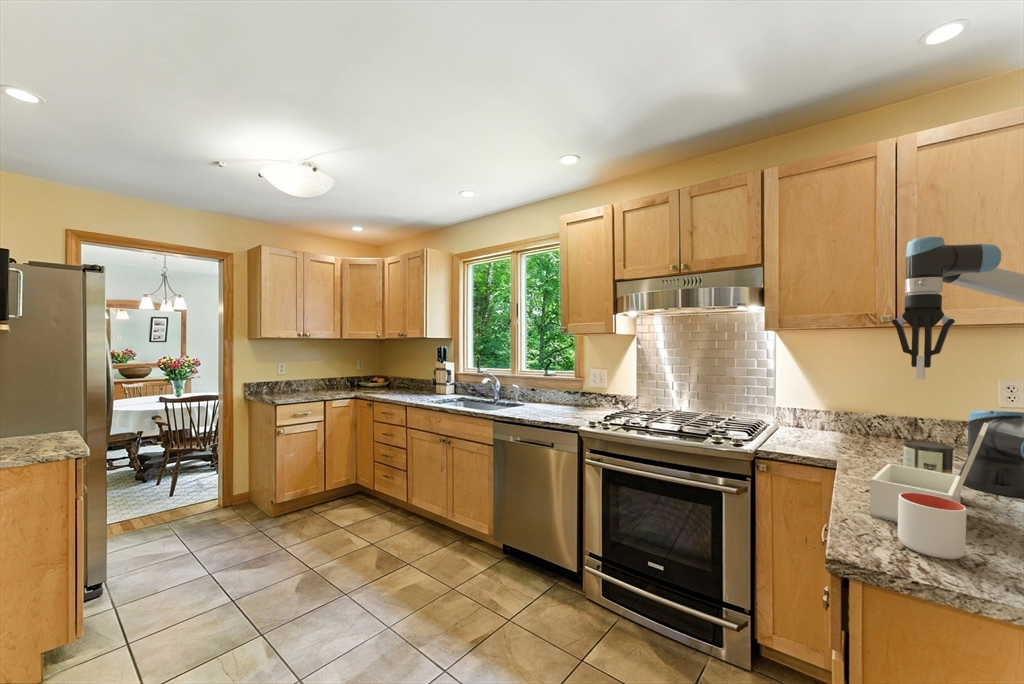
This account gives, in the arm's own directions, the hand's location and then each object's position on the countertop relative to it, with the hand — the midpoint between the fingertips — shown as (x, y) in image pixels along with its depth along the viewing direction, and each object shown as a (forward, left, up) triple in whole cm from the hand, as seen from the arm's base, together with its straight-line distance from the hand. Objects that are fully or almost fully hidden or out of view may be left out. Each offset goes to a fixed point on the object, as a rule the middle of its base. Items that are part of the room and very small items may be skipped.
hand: (920, 379), depth 120 cm
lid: (+9, +19, -16) cm, 27 cm away
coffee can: (-4, -1, -33) cm, 33 cm away
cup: (+30, +29, -33) cm, 53 cm away
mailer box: (+14, +12, -32) cm, 37 cm away
